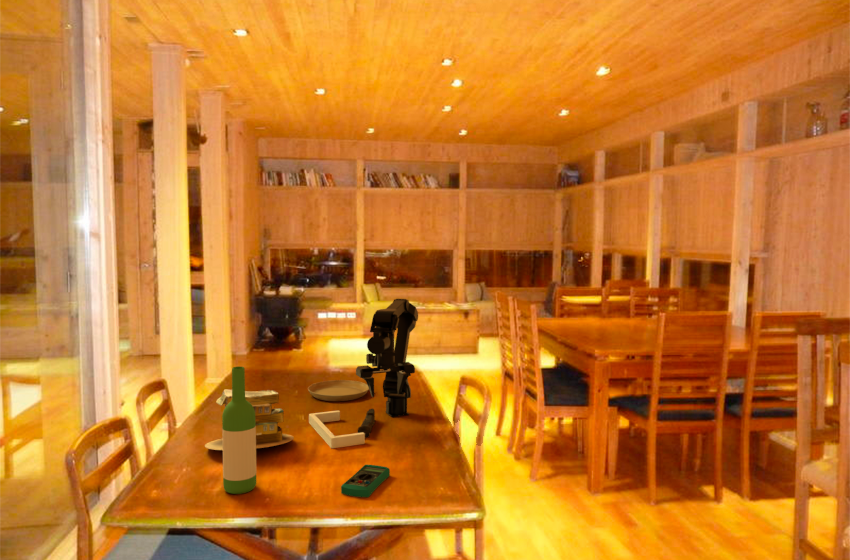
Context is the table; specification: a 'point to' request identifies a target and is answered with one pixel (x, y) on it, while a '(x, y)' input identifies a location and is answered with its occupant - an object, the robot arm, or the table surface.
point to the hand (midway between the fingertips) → (385, 395)
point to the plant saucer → (338, 390)
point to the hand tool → (367, 423)
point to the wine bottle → (239, 439)
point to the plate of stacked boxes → (259, 418)
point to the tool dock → (328, 437)
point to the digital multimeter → (365, 481)
